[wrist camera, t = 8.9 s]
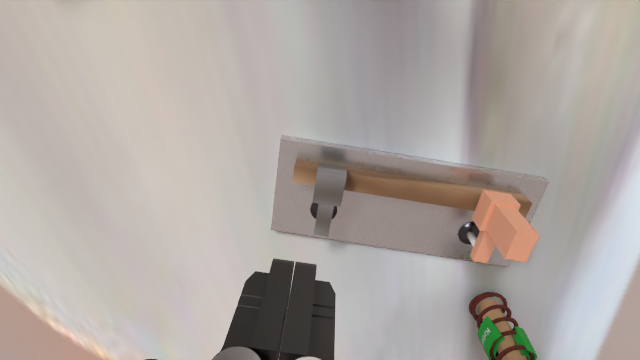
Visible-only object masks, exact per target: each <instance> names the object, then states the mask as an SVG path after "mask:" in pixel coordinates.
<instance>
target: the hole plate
mask: <svg viewBox="0 0 640 360" xmlns="http://www.w3.org/2000/svg"><path fill="white" fill-rule="evenodd" d="M296 159H303V160H309V161H316V162H322V163H328V164H334V165H341V166H347V167H353V168H359V169H366V170H372V171H378V172H385V173H391V174H397V175H403V176H410V177H416V178H422V179H429V180H435V181H441V182H447V183H454V184H460V185H466V186H473V187H479V188H485V189H491V190H498V191H504V192H510V193H516V194H523V195H525V196H526V197H527V198H528V199H529V200H530V201H531V202H532V205H531V208H530V210H529V212H528V214H527V216H526V218H525V219H526V220H527V221H528V223H529V222H530V220H531V218H532V216H533V214H534V212H535V210H536V208H537V206H538V203H539V201H540V199H541V197H542V195H543V193H544V191H545V189H546V187H547V185H548V181H547V180H546V179H545V178H544V177H539V176H533V175H526V174H520V173H514V172H508V171H501V170H495V169H489V168H483V167H477V166H470V165H464V164H458V163H452V162H445V161H439V160H433V159H427V158H420V157H414V156H408V155H402V154H395V153H389V152H383V151H377V150H370V149H364V148H358V147H352V146H345V145H339V144H333V143H327V142H320V141H314V140H308V139H302V138H295V137H289V136H283V135H282V137H281V142H280V151H279V160H278V170H277V179H276V189H275V198H274V207H273V217H272V226H271V230H276V231H282V232H289V233H295V234H301V235H308V236H314V237H321V238H327V239H333V240H340V241H346V242H353V243H359V244H365V245H372V246H378V247H385V248H391V249H397V250H404V251H410V252H416V253H423V254H429V255H436V256H442V257H448V258H455V259H461V260H468V261H473V260H472V258H471V256H470V254H471V252H472V249H473V246H472V244H471V242H470V241H469V239H468V237H467V233H468V232H473V233H474V235H475V237H476V238H477V237H478V235H479V232H480V230H479V229H478V227H477V226H476V224H475V223H474V221H473V219H472V217H473V214H474V212H475V211H472V210H466V209H459V208H453V207H447V206H440V205H434V204H428V203H421V202H415V201H409V200H402V199H396V198H390V197H383V196H377V195H371V194H365V193H358V192H352V191H346V190H344V193H343V198H342V203H341V207H337V206H334V209H333V214H332V219H331V224H330V230H329V235H328V237H326V236H319V235H314V228H315V223H316V217H317V211H318V205H319V204H318V203H312V201H313V195H314V189H315V186H314V185H308V184H301V183H295V182H292V181H293V174H294V166H295V162H296ZM474 262H475V261H474ZM510 262H511V260H509V259H504V257H503V256H502V254H501V253H500V251H499V249H498V248H497V246H496V245H495V247H494V249H493V251H492V254H491V256H490V258H489V261H488V263H487V264H493V265H500V266H506V267H508V266H509V264H510ZM480 263H482V262H480Z"/></svg>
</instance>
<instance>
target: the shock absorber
mask: <svg viewBox="0 0 640 360" xmlns="http://www.w3.org/2000/svg"><path fill="white" fill-rule="evenodd" d="M469 310H470V313H471V314H472V315H473V317H474V319H475V320H476V321H477V327H478V329H479V330H478V337H479V339H480V341H481V343H482V345H483V347H484V350H485V352H486V354H487V356H488V358H489V360H536V359H537V355H536V353H535V351H534V349H533V347H532V345H531V343H530V341H529V339H528V337H527V335H526V334H525V332H524V330H523V329H521V328H519V327H518V323H517V321H516V320H515V319H513V318H510V317H511V310H510V309H509V308H508V307H507V302H506V299H505V298H504V297H503V296H502V295H500V294H498V293H492V292H487V293H483V294H480V295H478V296H476V297H475V298H474V299H473V300H472V301H471V303H470V306H469ZM505 310H506V311H507V316H506V317H505V316H504V315H503V313H504V312H505ZM482 320H483V321H482ZM507 321H510V322H512V323H513V324H514V328H513V329H512V330H511V328H510V326H509V324H508V322H507Z"/></svg>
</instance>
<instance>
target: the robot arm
mask: <svg viewBox="0 0 640 360" xmlns="http://www.w3.org/2000/svg"><path fill="white" fill-rule="evenodd" d="M293 267H294V261H287V260H280V259H273V262H272V265H271V269H270V273H263V272H256V271H255V272H254V273H253V274H252V275H251V276H250V277H249V278H248V279H247V280H246V282H245V285H244V288H243V290H242V293H241V296H240V299H239V302H238V306H237V308H236V311H235V314H234V316H233V319H232V322H231V325H230V328H229V331H228V334H227V337H226V340H225V342H224V345H223V347H222V349H221V351H220V352H219V353H218V354H217V355H216V356H215V357H214V358H213V359H212V360H278V359H279V360H334V337H335V292H334V290H333V288H332V286H331V284H330V282H324V281H318V280H315V276H316V265H315V264H308V263H301V262H296V264H295V270H294V276H293V281H292V274H293ZM291 282H292V287H291ZM290 289H291V292H290ZM289 296H290V298H289ZM288 302H289V304H288ZM286 314H287V315H286ZM285 320H286V321H285ZM283 331H284V332H283ZM282 337H283V338H282ZM280 348H281V349H280ZM279 354H280V355H279ZM147 360H156V359H147Z"/></svg>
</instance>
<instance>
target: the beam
mask: <svg viewBox="0 0 640 360" xmlns="http://www.w3.org/2000/svg"><path fill="white" fill-rule="evenodd" d="M292 182H295V183H301V184H308V185H314V186H315V189H314V195H313V201H312V203H318V204H319V205H318V211H317V217H316V223H315V228H314V235H319V236H326V237H328V235H329V230H330V224H331V219H332V214H333V209H334V206H337V207H341V203H342V198H343V193H344V190H346V191H352V192H358V193H365V194H371V195H377V196H383V197H390V198H396V199H402V200H409V201H415V202H421V203H428V204H434V205H440V206H447V207H453V208H459V209H466V210H472V211H475V209H476V206H477V204H478V201H479V199H480V196H481V194H482V191H483V190H488V191H495V192H501V193H507V194H511V195H512V196H513V197H514V198H515V199H516V200H517V201H518V203H519V204H520V205H521V206H520V208H519V212H520V213H521V215H522V216H523V217H524V218H526V216H527V214H528V212H529V210H530V208H531V205H532V202H531V201H530V200H529V199H528V198H527V197H526V196H525V195H523V194H516V193H510V192H504V191H498V190H491V189H485V188H479V187H473V186H466V185H460V184H454V183H447V182H441V181H435V180H429V179H422V178H416V177H410V176H403V175H397V174H391V173H385V172H378V171H372V170H366V169H359V168H353V167H347V166H341V165H334V164H328V163H322V162H316V161H309V160H303V159H296V162H295V166H294V174H293V181H292Z"/></svg>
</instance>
